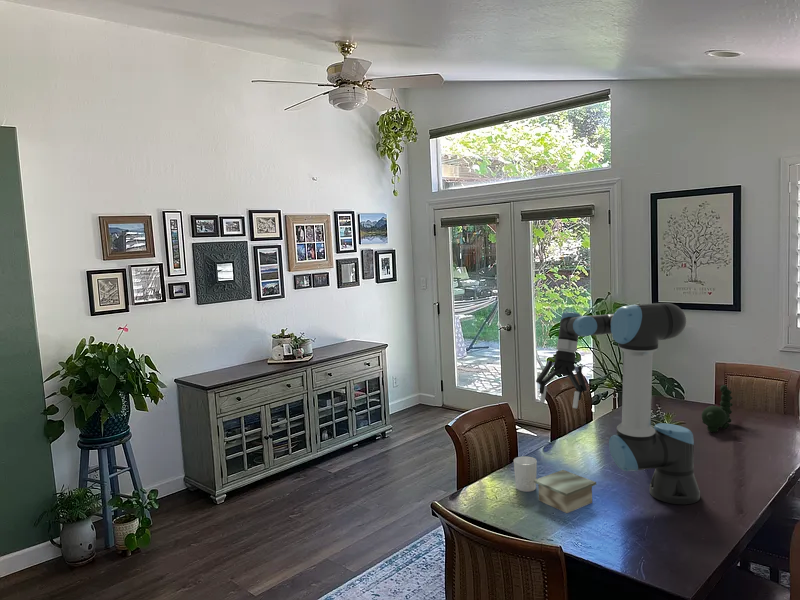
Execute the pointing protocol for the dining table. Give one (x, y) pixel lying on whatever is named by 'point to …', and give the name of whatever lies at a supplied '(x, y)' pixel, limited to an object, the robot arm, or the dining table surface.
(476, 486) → the dining table surface
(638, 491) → the dining table surface
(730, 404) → the green lumpy piece
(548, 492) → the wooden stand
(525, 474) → the white cup
